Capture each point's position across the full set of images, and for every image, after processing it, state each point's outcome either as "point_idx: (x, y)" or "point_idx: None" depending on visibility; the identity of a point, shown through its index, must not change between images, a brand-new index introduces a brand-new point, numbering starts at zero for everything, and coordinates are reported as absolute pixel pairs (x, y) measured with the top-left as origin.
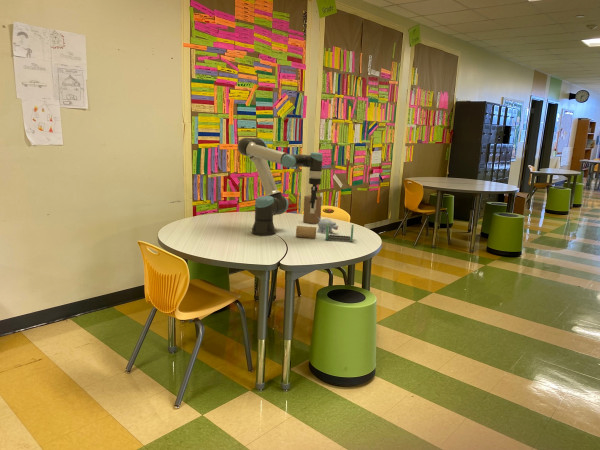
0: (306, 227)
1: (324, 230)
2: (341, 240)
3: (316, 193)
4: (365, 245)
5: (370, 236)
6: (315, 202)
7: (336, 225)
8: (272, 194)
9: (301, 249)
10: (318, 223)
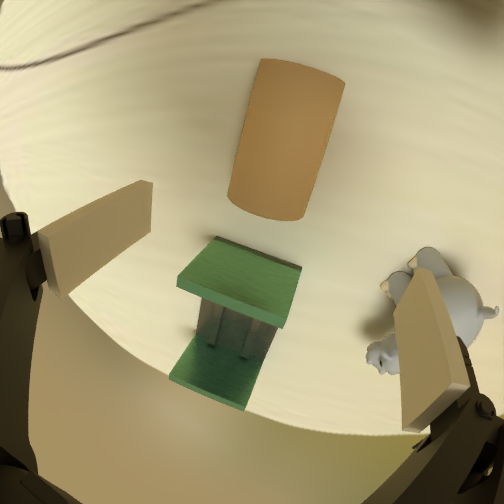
0: (257, 137)
1: (399, 290)
2: (202, 304)
3: (26, 457)
4: (164, 353)
5: (306, 420)
6: (406, 386)
7: (382, 368)
8: None
9: (65, 105)
10: (464, 286)
